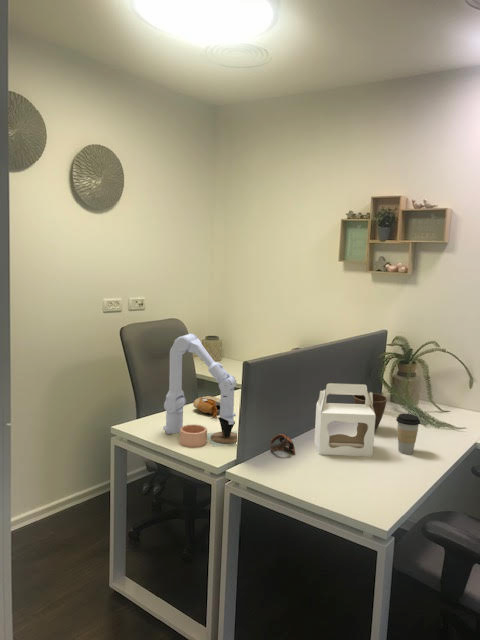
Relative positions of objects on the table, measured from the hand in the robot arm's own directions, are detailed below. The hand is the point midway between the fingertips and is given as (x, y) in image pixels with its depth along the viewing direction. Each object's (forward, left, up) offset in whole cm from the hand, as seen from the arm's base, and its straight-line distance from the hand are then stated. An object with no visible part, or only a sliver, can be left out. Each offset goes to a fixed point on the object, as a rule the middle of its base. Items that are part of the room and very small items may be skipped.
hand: (226, 435), depth 216 cm
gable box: (+21, +44, -2) cm, 49 cm away
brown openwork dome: (+17, +19, -2) cm, 26 cm away
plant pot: (+3, +67, -2) cm, 68 cm away
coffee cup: (+29, +69, -2) cm, 75 cm away
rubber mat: (0, 0, -2) cm, 2 cm away
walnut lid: (0, 0, -1) cm, 1 cm away
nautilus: (-35, +1, -2) cm, 35 cm away
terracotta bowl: (+1, -15, -2) cm, 15 cm away
